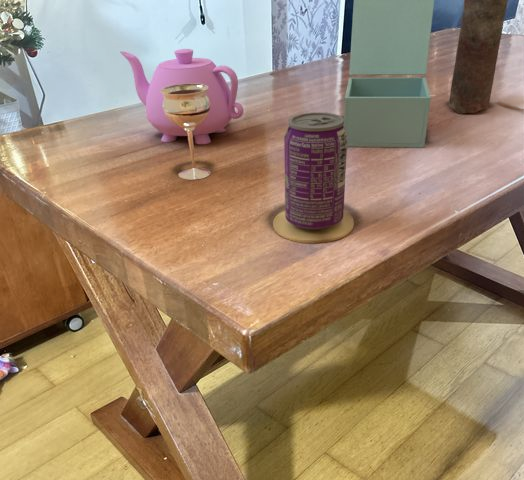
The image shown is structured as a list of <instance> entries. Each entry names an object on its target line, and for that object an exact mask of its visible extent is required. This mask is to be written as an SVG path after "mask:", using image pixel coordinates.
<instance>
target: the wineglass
mask: <svg viewBox="0 0 524 480" xmlns="http://www.w3.org/2000/svg"><path fill="white" fill-rule="evenodd" d="M207 89H208V86H207V85H204V84H197V83H186V84H176V85H171V86H167V87H164V88H163V89H161V93H162V94H163V96H164V100H163V110H164V113H165V115H166V117H167V118H168V119H169V120H170V121H171V122H173V123H174V124H175V125H177V126H179V127H182V128H184V130H185V131H187V135H188V136H187V141H188V146H189V153H190V158H191V166H192V167H190V168H187V169H184V170H182V171H180V172H179V173H178V177H179V178H181V179H183V180H188V181H189V180H190V181H191V180H192V181H193V180H200V179H204V178H207V177H209V176H210V175H211V174H212V171H211V170H210V169H208V168H204V167H196V159H195V146H194V136H193V133H192V131H194V129H195V127H196V126H198V125H199V124H201V123H202V122H203V121H204V120H205V118H206V117H207V116H208V114H209V110H210V100H209V97H208V96H207V94H206V92H207Z"/></svg>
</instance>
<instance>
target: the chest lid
mask: <svg viewBox="0 0 524 480" xmlns="http://www.w3.org/2000/svg"><path fill="white" fill-rule="evenodd" d="M434 7H435V0H353V8H352V10H353V11H352V23H351V25H352V26H351V41H350V54H349V55H350V56H349V57H350V58H349V73H348V74H349V76H395V75H396V76H413V75H414V76H417V75H419V76H421V75H422V76H423V75H424V76H425V75H427V71H428V61H429V53H430V43H431V36H432V35H431V34H432V25H433V15H434V9H435V8H434Z"/></svg>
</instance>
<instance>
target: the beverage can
mask: <svg viewBox="0 0 524 480" xmlns="http://www.w3.org/2000/svg"><path fill="white" fill-rule="evenodd" d="M287 121H288V122H287V123H288V124H287V125H288V128H287V130H286V132H285V134H284V139H283V141H284V143H283V144H284V145H283V147H284V149H283V150H284V151H283V152H284V208H285V209H284V211H285V217H286V219H287V221H288V222H290V223H291V224H293V225H296V226H298V227H300V228H303V229H308V230H320V229H325V228H328V227H330V226H332V225H335V224H337V223H339V222H340V221H341V220H342V218H343V212H345V209H344V208H345V195H346V194H345V191H346V190H345V189H346V175H347V173H346V171H347V155H348V147H347V133H346V131H345V128H344V116H341V115H339V114H336V113H332V112H321V111H319V112H315V111H314V112H304V113H299V114H295V115H293V116H291V117H290V118H288V120H287Z"/></svg>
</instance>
